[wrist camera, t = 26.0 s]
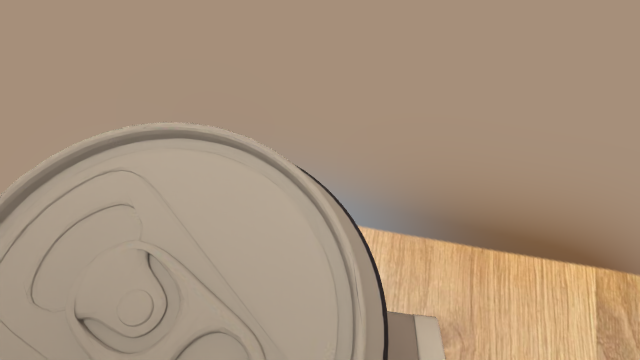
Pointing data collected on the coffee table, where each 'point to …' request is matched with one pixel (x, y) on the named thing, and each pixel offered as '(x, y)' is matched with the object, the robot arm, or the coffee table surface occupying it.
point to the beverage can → (183, 255)
